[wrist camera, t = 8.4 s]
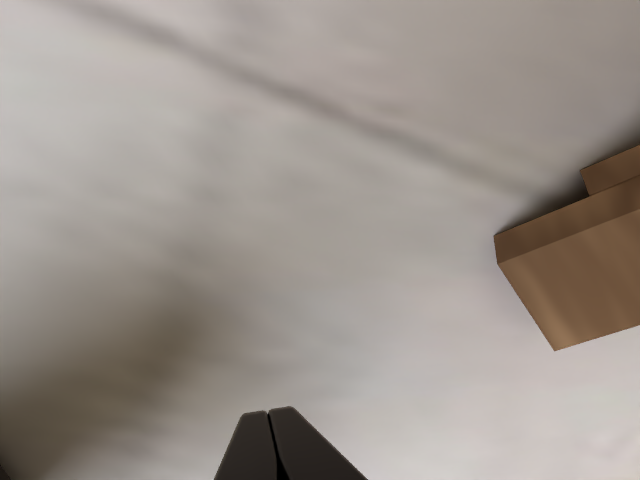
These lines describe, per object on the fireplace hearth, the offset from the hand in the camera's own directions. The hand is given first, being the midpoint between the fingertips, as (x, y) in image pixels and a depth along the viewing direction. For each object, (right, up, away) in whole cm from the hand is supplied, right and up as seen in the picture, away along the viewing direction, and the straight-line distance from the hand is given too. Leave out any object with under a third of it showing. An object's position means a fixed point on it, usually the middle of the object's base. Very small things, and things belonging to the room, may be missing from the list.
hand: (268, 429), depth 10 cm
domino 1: (+8, +1, +13) cm, 16 cm away
